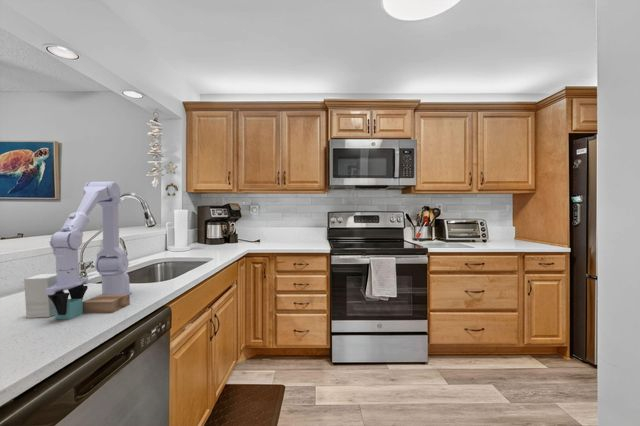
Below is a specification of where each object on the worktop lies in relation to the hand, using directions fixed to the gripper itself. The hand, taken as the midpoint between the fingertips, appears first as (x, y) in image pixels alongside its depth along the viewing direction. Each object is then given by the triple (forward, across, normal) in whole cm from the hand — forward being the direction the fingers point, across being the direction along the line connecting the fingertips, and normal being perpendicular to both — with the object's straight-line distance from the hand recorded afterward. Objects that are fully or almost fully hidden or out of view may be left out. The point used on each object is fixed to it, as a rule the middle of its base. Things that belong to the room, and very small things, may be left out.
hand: (69, 311), depth 110 cm
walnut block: (+2, +8, -6) cm, 11 cm away
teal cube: (+2, 0, 0) cm, 2 cm away
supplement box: (+2, +2, +10) cm, 10 cm away
